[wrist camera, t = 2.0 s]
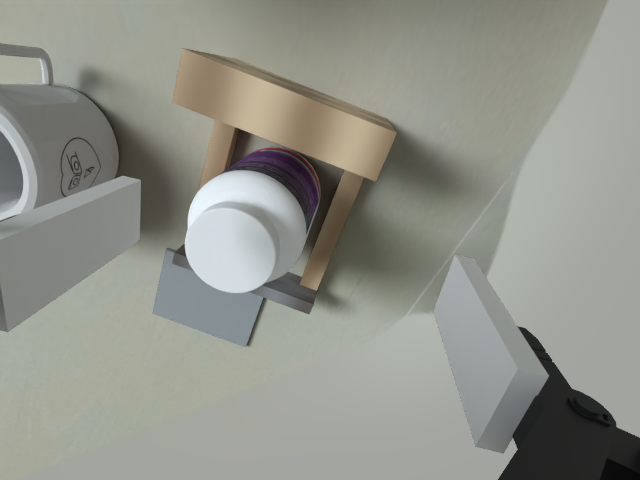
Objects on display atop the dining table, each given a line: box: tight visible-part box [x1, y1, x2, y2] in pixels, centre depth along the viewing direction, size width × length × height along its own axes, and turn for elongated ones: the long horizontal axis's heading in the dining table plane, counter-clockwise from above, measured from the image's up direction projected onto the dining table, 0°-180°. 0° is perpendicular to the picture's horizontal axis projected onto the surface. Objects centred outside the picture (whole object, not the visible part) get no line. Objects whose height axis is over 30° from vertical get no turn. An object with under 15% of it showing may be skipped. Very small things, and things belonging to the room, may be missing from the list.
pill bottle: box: [185, 147, 321, 293], centre depth 28 cm, size 8×8×14 cm
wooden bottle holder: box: [172, 48, 397, 314], centre depth 30 cm, size 14×18×10 cm
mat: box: [153, 248, 264, 347], centre depth 40 cm, size 11×8×1 cm
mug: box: [0, 44, 119, 220], centre depth 31 cm, size 14×11×10 cm
